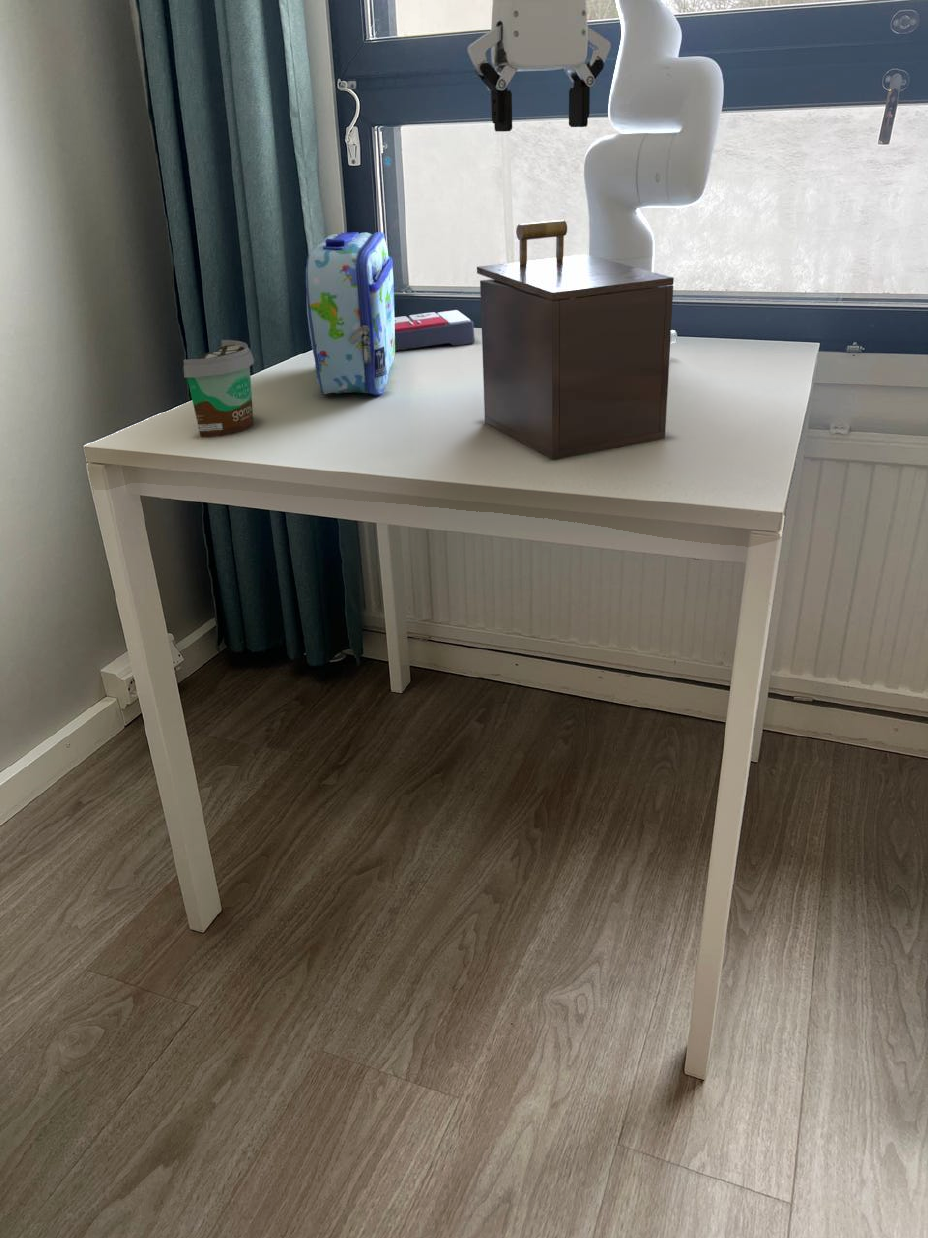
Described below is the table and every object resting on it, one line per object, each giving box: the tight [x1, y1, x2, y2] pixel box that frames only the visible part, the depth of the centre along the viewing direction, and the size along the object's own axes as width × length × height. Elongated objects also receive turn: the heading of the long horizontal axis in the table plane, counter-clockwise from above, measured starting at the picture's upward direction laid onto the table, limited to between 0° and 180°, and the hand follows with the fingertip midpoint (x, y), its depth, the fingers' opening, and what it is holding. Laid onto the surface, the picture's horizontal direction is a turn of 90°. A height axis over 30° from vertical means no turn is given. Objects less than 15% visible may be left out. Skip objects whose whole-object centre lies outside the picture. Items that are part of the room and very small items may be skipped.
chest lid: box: [476, 219, 675, 300], centre depth 111 cm, size 19×15×5 cm
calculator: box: [394, 309, 476, 352], centre depth 169 cm, size 11×4×15 cm
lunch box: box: [305, 231, 396, 396], centre depth 142 cm, size 26×11×21 cm, turn 178°
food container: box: [182, 339, 255, 438], centre depth 126 cm, size 12×6×10 cm, turn 168°
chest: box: [479, 278, 674, 461], centre depth 116 cm, size 18×15×17 cm
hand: (541, 128), depth 111 cm, fingers open, 9 cm apart
